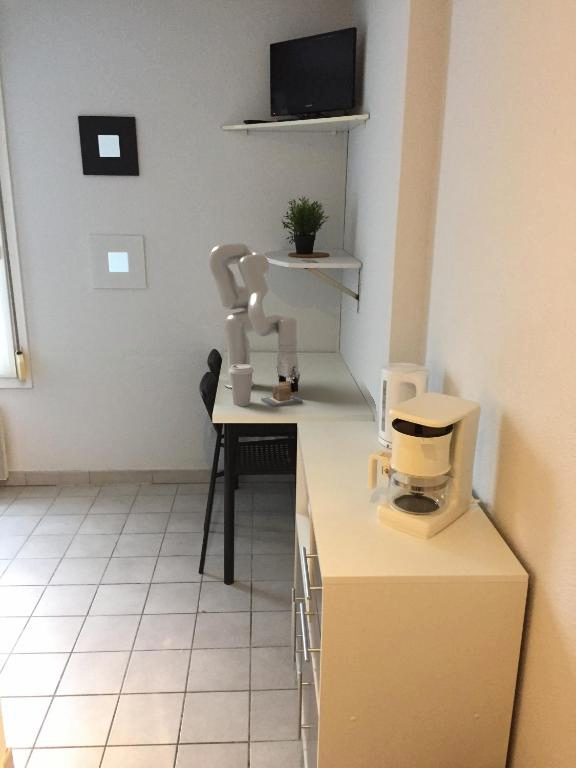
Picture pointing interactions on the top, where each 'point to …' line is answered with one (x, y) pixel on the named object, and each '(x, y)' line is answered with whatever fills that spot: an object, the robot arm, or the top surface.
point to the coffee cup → (241, 383)
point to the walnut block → (281, 392)
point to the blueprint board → (276, 403)
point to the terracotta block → (287, 383)
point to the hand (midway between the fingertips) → (288, 389)
